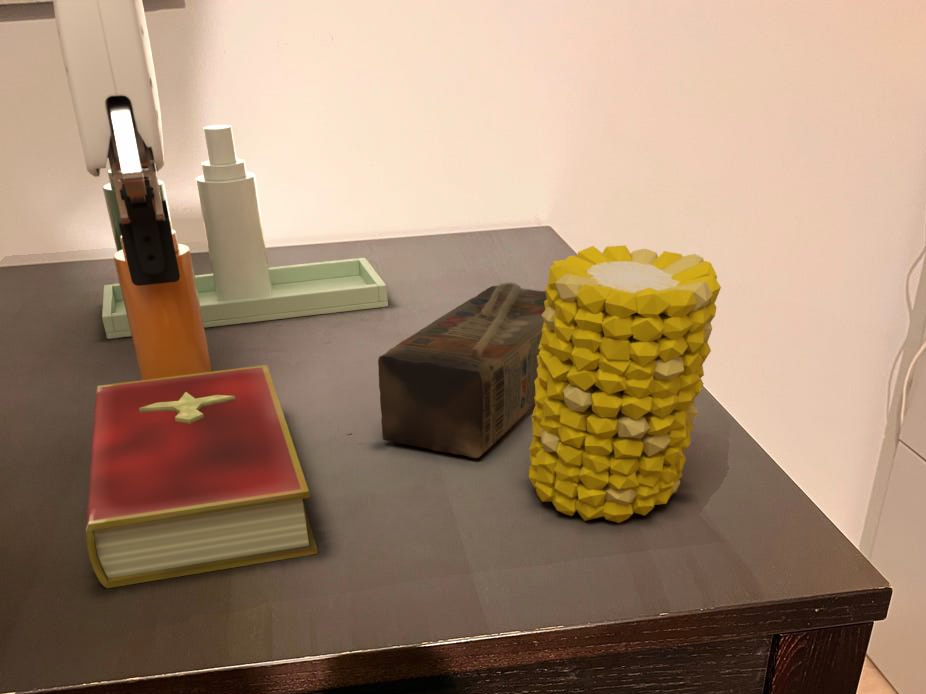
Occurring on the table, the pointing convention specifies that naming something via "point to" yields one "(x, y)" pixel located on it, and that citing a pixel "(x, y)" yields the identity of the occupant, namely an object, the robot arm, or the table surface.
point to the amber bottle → (165, 320)
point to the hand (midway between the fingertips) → (155, 268)
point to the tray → (274, 296)
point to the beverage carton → (464, 373)
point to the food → (619, 378)
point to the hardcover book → (193, 478)
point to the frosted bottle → (232, 220)
